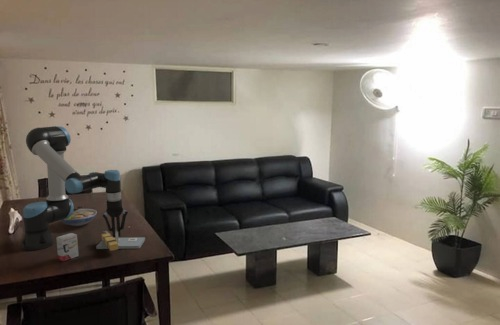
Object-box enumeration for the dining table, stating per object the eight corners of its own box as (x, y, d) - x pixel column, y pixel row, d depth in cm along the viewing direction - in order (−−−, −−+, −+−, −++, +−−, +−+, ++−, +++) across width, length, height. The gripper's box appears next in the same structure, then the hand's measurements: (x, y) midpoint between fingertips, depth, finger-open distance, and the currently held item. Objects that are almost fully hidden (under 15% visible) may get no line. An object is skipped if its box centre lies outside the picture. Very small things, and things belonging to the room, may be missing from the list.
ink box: (63, 262, 191) (61, 239, 189) (57, 259, 194) (55, 237, 192) (79, 256, 198) (77, 234, 196) (73, 254, 201) (71, 232, 199)
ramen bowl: (82, 232, 233) (81, 219, 232) (49, 229, 238) (48, 217, 237) (105, 220, 258) (105, 208, 256) (75, 217, 262) (74, 206, 261)
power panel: (96, 249, 208) (96, 245, 207) (104, 240, 220) (104, 237, 220) (139, 248, 208) (139, 245, 208) (145, 239, 221) (144, 236, 221)
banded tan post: (100, 239, 216) (100, 231, 215) (108, 237, 218) (108, 230, 217) (110, 252, 198) (109, 243, 197) (118, 250, 200) (118, 242, 199)
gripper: (101, 203, 194) (105, 247, 198) (128, 199, 201) (130, 242, 205) (99, 199, 201) (103, 242, 205) (125, 196, 207) (128, 238, 211)
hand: (117, 242), depth 205 cm, fingers closed
